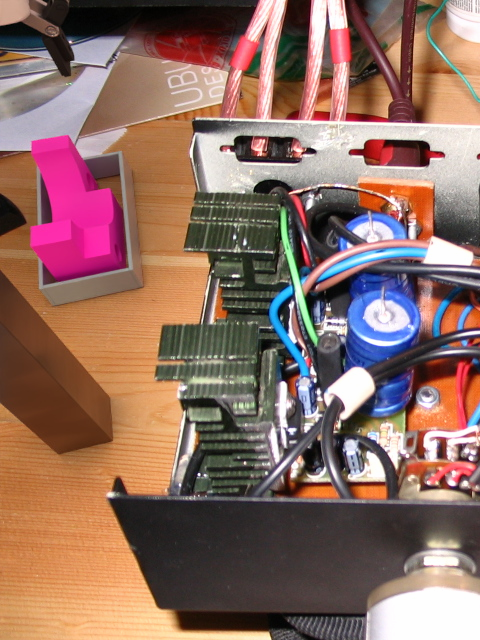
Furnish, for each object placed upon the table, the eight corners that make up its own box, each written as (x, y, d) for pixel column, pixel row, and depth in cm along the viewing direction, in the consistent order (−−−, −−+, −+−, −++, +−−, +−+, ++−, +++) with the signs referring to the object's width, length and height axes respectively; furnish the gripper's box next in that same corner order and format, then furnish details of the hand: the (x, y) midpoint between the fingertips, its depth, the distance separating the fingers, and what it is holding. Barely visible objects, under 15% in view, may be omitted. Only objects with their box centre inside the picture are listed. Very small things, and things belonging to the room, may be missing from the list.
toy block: (127, 280, 84) (97, 234, 77) (66, 292, 83) (30, 246, 76) (120, 180, 91) (92, 130, 84) (63, 190, 90) (31, 140, 83)
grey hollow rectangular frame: (52, 306, 82) (38, 289, 79) (49, 185, 90) (36, 166, 87) (143, 286, 83) (132, 269, 81) (131, 169, 92) (121, 150, 89)
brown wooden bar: (57, 454, 73) (-130, 288, 51) (56, 409, 76) (-124, 231, 53) (113, 440, 74) (-48, 271, 52) (109, 396, 77) (-45, 216, 54)
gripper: (11, -164, 60) (107, 34, 74) (-242, -131, 57) (-89, 69, 71) (12, -112, 56) (112, 85, 71) (-258, -74, 53) (-94, 124, 68)
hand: (11, 77), depth 71 cm, fingers open, 9 cm apart
